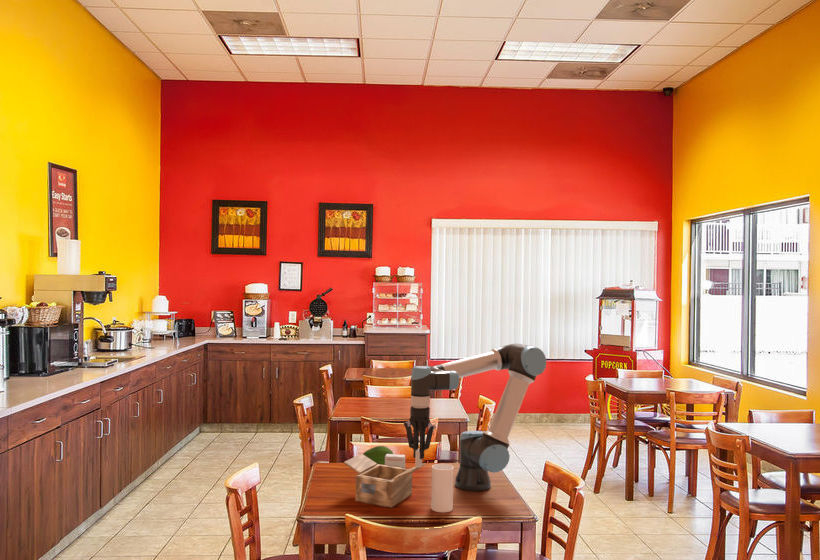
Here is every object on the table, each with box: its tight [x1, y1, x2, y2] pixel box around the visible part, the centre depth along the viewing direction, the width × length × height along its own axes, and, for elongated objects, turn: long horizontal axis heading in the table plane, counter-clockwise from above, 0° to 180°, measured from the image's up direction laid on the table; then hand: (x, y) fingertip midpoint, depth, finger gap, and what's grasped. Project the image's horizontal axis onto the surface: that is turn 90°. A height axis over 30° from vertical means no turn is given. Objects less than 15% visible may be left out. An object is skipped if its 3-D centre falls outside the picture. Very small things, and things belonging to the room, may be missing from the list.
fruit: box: [362, 445, 394, 465], centre depth 290 cm, size 15×10×10 cm, turn 91°
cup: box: [430, 463, 455, 513], centre depth 238 cm, size 8×8×16 cm
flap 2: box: [393, 462, 427, 480], centre depth 245 cm, size 1×14×8 cm
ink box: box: [385, 453, 406, 469], centre depth 269 cm, size 8×5×12 cm, turn 84°
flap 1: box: [343, 453, 377, 474], centre depth 254 cm, size 1×14×8 cm
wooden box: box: [355, 464, 413, 509], centre depth 249 cm, size 16×19×10 cm
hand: (418, 466), depth 243 cm, fingers closed
